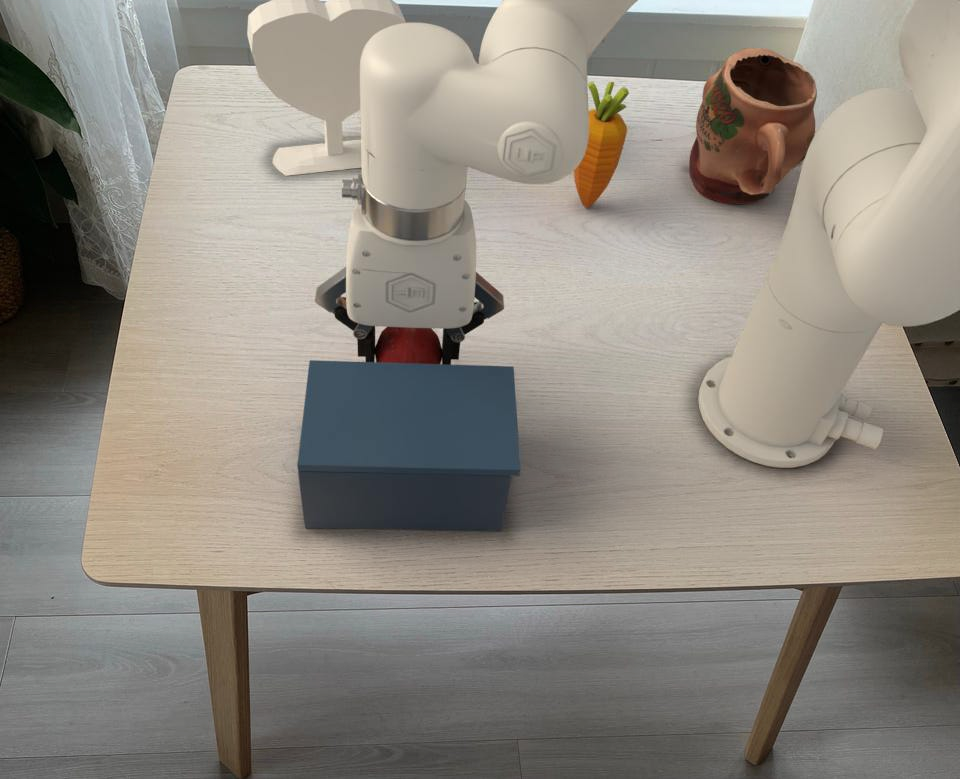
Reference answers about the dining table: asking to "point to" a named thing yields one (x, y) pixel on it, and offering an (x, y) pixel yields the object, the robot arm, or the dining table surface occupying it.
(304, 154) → the heart sculpture
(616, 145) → the carrot
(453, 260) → the robot arm
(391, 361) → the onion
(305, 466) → the lunchbox lid
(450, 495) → the box
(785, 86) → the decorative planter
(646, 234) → the dining table surface
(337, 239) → the dining table surface
